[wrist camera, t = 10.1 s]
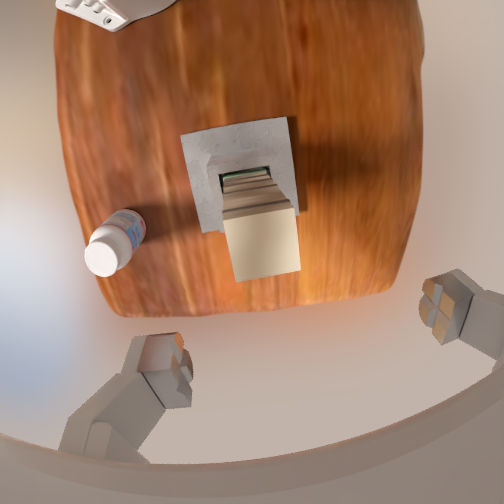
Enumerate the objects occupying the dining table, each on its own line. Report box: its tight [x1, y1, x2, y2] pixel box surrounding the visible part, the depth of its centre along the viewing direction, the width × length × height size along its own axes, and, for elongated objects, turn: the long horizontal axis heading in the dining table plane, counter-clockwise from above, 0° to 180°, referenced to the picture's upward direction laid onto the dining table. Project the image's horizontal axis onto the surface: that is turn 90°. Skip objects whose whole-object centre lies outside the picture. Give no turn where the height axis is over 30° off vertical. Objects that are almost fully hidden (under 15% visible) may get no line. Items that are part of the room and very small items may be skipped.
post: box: [222, 167, 301, 282], centre depth 24 cm, size 4×4×17 cm
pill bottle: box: [85, 209, 146, 277], centre depth 35 cm, size 6×6×11 cm
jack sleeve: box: [181, 117, 299, 233], centre depth 33 cm, size 14×14×12 cm
